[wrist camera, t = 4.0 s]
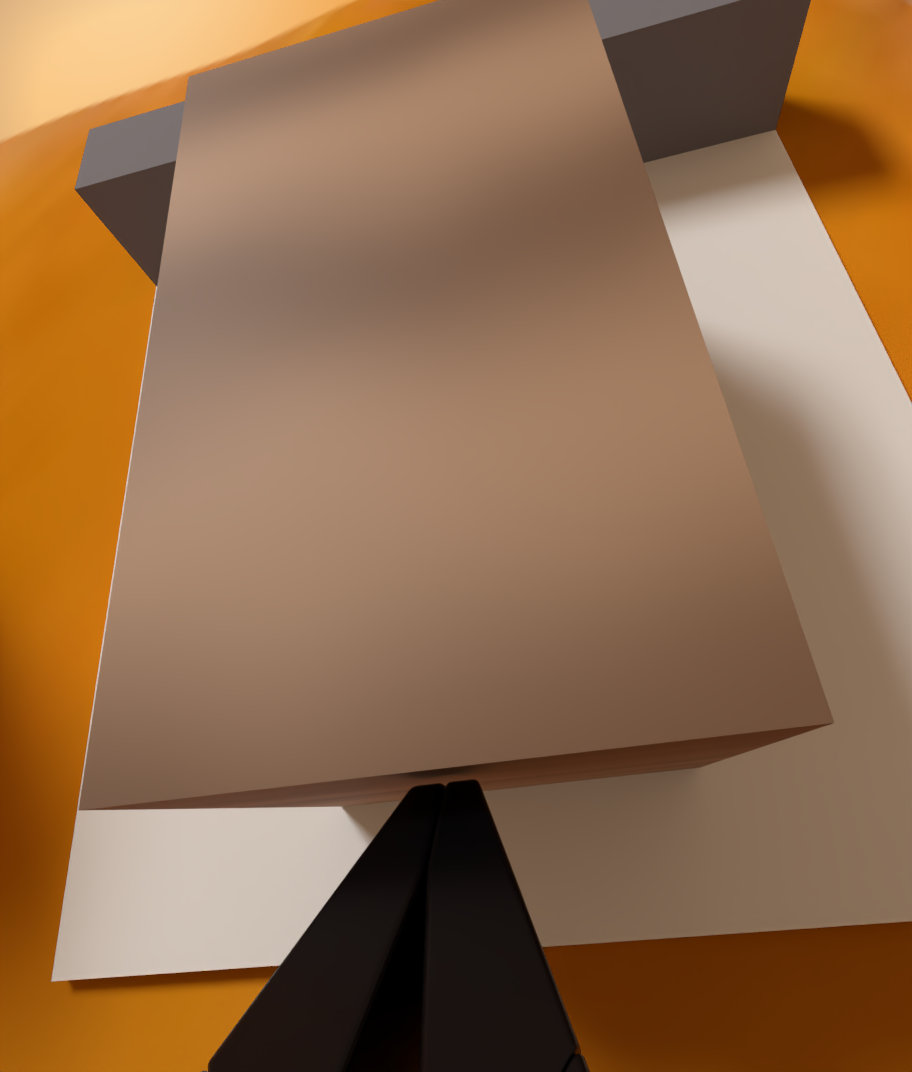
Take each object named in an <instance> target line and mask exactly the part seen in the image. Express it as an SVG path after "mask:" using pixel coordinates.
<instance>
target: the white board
mask: <svg viewBox="0 0 912 1072" xmlns="http://www.w3.org/2000/svg"><path fill="white" fill-rule="evenodd" d="M588 1H589V4H590V7H591V10H592V13H593V16H594V19H595V22H596V25H597V28H598V31H599V34H600V37H601V40H602V43H603V45H604V48H605V51H606V54H607V57H608V60H609V63H610V66H611V69H612V72H613V75H614V78H615V81H616V84H617V87H618V89H619V92H620V95H621V98H622V101H623V104H624V107H625V110H626V113H627V116H628V119H629V122H630V125H631V128H632V131H633V133H634V136H635V139H636V142H637V145H638V148H639V151H640V154H641V157H642V160H643V163H644V166H645V169H646V172H647V175H648V177H649V180H650V183H651V186H652V189H653V192H654V195H655V198H656V201H657V204H658V207H659V210H660V213H661V216H662V218H663V221H664V224H665V227H666V230H667V233H668V236H669V239H670V242H671V245H672V248H673V251H674V254H675V257H676V260H677V262H678V265H679V268H680V271H681V274H682V277H683V280H684V283H685V286H686V289H687V292H688V295H689V298H690V301H691V304H692V306H693V309H694V312H695V315H696V318H697V321H698V324H699V327H700V330H701V333H702V336H703V339H704V342H705V345H706V348H707V350H708V353H709V356H710V359H711V362H712V365H713V368H714V371H715V374H716V377H717V380H718V383H719V386H720V389H721V391H722V394H723V397H724V400H725V403H726V406H727V409H728V412H729V415H730V418H731V421H732V424H733V427H734V430H735V433H736V435H737V438H738V441H739V444H740V447H741V450H742V453H743V456H744V459H745V462H746V465H747V468H748V471H749V474H750V477H751V479H752V482H753V485H754V488H755V491H756V494H757V497H758V500H759V503H760V506H761V509H762V512H763V515H764V518H765V521H766V523H767V526H768V529H769V532H770V535H771V538H772V541H773V544H774V547H775V550H776V553H777V556H778V559H779V562H780V565H781V567H782V570H783V573H784V576H785V579H786V582H787V585H788V588H789V591H790V594H791V597H792V600H793V603H794V606H795V608H796V611H797V614H798V617H799V620H800V623H801V626H802V629H803V632H804V635H805V638H806V641H807V644H808V647H809V650H810V652H811V655H812V658H813V661H814V664H815V667H816V670H817V673H818V676H819V679H820V682H821V685H822V688H823V691H824V694H825V696H826V699H827V702H828V705H829V708H830V711H831V714H832V717H833V720H834V723H833V724H830V725H827V726H824V727H821V728H818V729H815V730H812V731H809V732H806V733H803V734H800V735H797V736H794V737H791V738H788V739H785V740H782V741H779V742H776V743H773V744H770V745H766V746H763V747H760V748H757V749H754V750H751V751H748V752H745V753H742V754H739V755H736V756H733V757H730V758H727V759H724V760H721V761H718V762H715V763H712V764H709V765H706V766H703V767H700V768H691V769H682V770H673V771H663V772H654V773H645V774H636V775H627V776H618V777H608V778H599V779H590V780H581V781H572V782H563V783H553V784H544V785H535V786H526V787H517V788H508V789H498V790H489V791H483V793H484V796H485V798H486V801H487V804H488V806H489V809H490V811H491V814H492V817H493V819H494V822H495V825H496V827H497V830H498V833H499V835H500V838H501V840H502V843H503V846H504V848H505V851H506V854H507V856H508V859H509V861H510V864H511V867H512V869H513V872H514V875H515V877H516V880H517V883H518V885H519V888H520V890H521V893H522V896H523V898H524V901H525V904H526V906H527V909H528V911H529V914H530V917H531V919H532V922H533V925H534V927H535V930H536V933H537V935H538V938H539V940H540V943H541V946H542V947H551V946H565V945H579V944H594V943H608V942H622V941H637V940H651V939H665V938H679V937H694V936H708V935H722V934H736V933H751V932H765V931H779V930H793V929H808V928H822V927H836V926H851V925H865V924H879V923H893V922H908V921H912V403H911V401H910V399H909V397H908V395H907V393H906V391H905V389H904V387H903V385H902V383H901V381H900V379H899V377H898V375H897V373H896V371H895V369H894V367H893V365H892V363H891V361H890V359H889V357H888V355H887V353H886V351H885V349H884V346H883V344H882V342H881V340H880V338H879V336H878V334H877V332H876V330H875V328H874V326H873V324H872V322H871V320H870V318H869V316H868V314H867V312H866V310H865V308H864V306H863V304H862V302H861V300H860V298H859V296H858V294H857V292H856V290H855V288H854V286H853V284H852V282H851V280H850V278H849V276H848V274H847V272H846V270H845V268H844V266H843V264H842V262H841V260H840V258H839V256H838V254H837V252H836V250H835V248H834V246H833V244H832V242H831V240H830V238H829V236H828V234H827V232H826V230H825V228H824V226H823V224H822V222H821V220H820V218H819V216H818V214H817V212H816V210H815V208H814V206H813V204H812V202H811V200H810V198H809V196H808V194H807V192H806V190H805V188H804V186H803V184H802V182H801V180H800V178H799V176H798V174H797V172H796V170H795V167H794V165H793V163H792V161H791V159H790V157H789V155H788V153H787V151H786V149H785V147H784V145H783V143H782V141H781V139H780V137H779V135H778V133H777V131H776V127H777V123H778V119H779V116H780V112H781V108H782V105H783V101H784V97H785V93H786V90H787V86H788V82H789V79H790V75H791V71H792V68H793V64H794V60H795V57H796V53H797V49H798V45H799V42H800V38H801V34H802V31H803V27H804V23H805V20H806V16H807V12H808V9H809V5H810V1H811V0H588ZM184 105H185V101H183V102H180V103H177V104H173V105H170V106H167V107H163V108H160V109H157V110H153V111H150V112H147V113H143V114H140V115H137V116H133V117H130V118H127V119H123V120H120V121H117V122H113V123H110V124H107V125H103V126H100V127H96V128H93V129H90V130H89V134H88V138H87V142H86V146H85V150H84V154H83V158H82V162H81V166H80V170H79V174H78V178H77V182H76V186H75V190H76V191H77V193H78V194H79V195H80V196H81V197H82V198H83V200H84V201H85V202H86V203H87V204H88V206H89V207H90V208H91V209H92V210H93V212H94V213H95V214H96V215H97V216H98V217H99V219H100V220H101V221H102V222H103V223H104V225H105V226H106V227H107V228H108V229H109V230H110V232H111V233H112V234H113V235H114V236H115V238H116V239H117V240H118V241H119V242H120V243H121V245H122V246H123V247H124V248H125V249H126V251H127V252H128V253H129V254H130V255H131V256H132V258H133V259H134V260H135V261H136V262H137V264H138V265H139V266H140V267H141V268H142V269H143V271H144V272H145V273H146V274H147V275H148V277H149V278H150V279H151V280H152V281H153V282H154V284H155V285H156V292H157V285H158V278H159V272H160V265H161V258H162V252H163V245H164V238H165V232H166V225H167V218H168V212H169V205H170V198H171V192H172V185H173V178H174V172H175V165H176V159H177V152H178V145H179V139H180V132H181V125H182V119H183V112H184ZM156 292H155V298H156ZM154 305H155V299H154ZM154 305H153V311H154ZM152 318H153V312H152ZM152 318H151V325H152ZM151 325H150V331H151ZM149 338H150V332H149ZM149 338H148V345H149ZM148 345H147V351H148ZM147 351H146V358H147ZM146 358H145V365H146ZM145 365H144V371H145ZM144 371H143V378H144ZM143 378H142V384H141V391H142V385H143ZM141 391H140V398H141ZM140 398H139V404H138V411H139V405H140ZM138 411H137V418H138ZM137 418H136V424H135V431H136V425H137ZM135 431H134V437H133V444H134V438H135ZM133 444H132V451H133ZM132 451H131V457H130V464H131V458H132ZM130 464H129V470H128V477H127V484H128V478H129V471H130ZM127 484H126V490H125V497H124V504H125V498H126V491H127ZM124 504H123V510H122V517H121V523H120V530H119V537H118V543H117V550H116V556H115V563H114V570H113V576H112V583H111V589H110V596H109V603H108V609H107V616H106V623H105V629H104V636H103V642H102V649H101V656H100V662H99V669H98V675H97V682H96V689H95V695H94V702H93V708H92V715H91V722H90V728H89V735H88V742H87V748H86V755H85V761H84V768H83V775H82V781H81V788H80V794H79V801H78V808H77V814H76V821H75V828H74V834H73V841H72V847H71V854H70V861H69V867H68V874H67V880H66V887H65V894H64V900H63V907H62V913H61V920H60V927H59V933H58V940H57V947H56V953H55V960H54V966H53V973H52V980H51V981H66V980H80V979H94V978H108V977H123V976H137V975H151V974H166V973H180V972H194V971H208V970H223V969H237V968H251V967H265V966H280V964H281V963H282V962H283V960H284V959H285V958H286V956H287V955H288V954H289V952H290V951H291V950H292V948H293V947H294V945H295V944H296V943H297V941H298V940H299V939H300V937H301V936H302V935H303V933H304V932H305V931H306V929H307V928H308V927H309V925H310V924H311V922H312V921H313V920H314V918H315V917H316V916H317V914H318V913H319V912H320V910H321V909H322V908H323V906H324V905H325V903H326V902H327V901H328V899H329V898H330V897H331V895H332V894H333V893H334V891H335V890H336V889H337V887H338V886H339V884H340V883H341V882H342V880H343V879H344V878H345V876H346V875H347V874H348V872H349V871H350V870H351V868H352V867H353V865H354V864H355V863H356V861H357V860H358V859H359V857H360V856H361V855H362V853H363V852H364V851H365V849H366V848H367V846H368V845H369V844H370V842H371V841H372V840H373V838H374V837H375V836H376V834H377V833H378V832H379V830H380V829H381V827H382V826H383V825H384V823H385V822H386V821H387V819H388V818H389V817H390V815H391V814H392V813H393V811H394V810H395V809H396V807H397V806H398V804H399V803H400V802H401V800H398V801H388V802H379V803H370V804H361V805H352V806H343V807H282V808H213V809H145V810H79V804H80V797H81V790H82V784H83V777H84V770H85V764H86V757H87V750H88V744H89V737H90V730H91V724H92V717H93V711H94V704H95V697H96V691H97V684H98V677H99V671H100V664H101V657H102V651H103V644H104V637H105V631H106V624H107V617H108V611H109V604H110V597H111V591H112V584H113V577H114V571H115V564H116V558H117V551H118V544H119V538H120V531H121V524H122V518H123V511H124Z"/></svg>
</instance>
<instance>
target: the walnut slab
mask: <svg viewBox="0 0 912 1072" xmlns="http://www.w3.org/2000/svg"><path fill="white" fill-rule="evenodd" d="M833 723H834V720H833V717H832V714H831V711H830V708H829V705H828V702H827V699H826V696H825V694H824V691H823V688H822V685H821V682H820V679H819V676H818V673H817V670H816V667H815V664H814V661H813V658H812V655H811V652H810V650H809V647H808V644H807V641H806V638H805V635H804V632H803V629H802V626H801V623H800V620H799V617H798V614H797V611H796V608H795V606H794V603H793V600H792V597H791V594H790V591H789V588H788V585H787V582H786V579H785V576H784V573H783V570H782V567H781V565H780V562H779V559H778V556H777V553H776V550H775V547H774V544H773V541H772V538H771V535H770V532H769V529H768V526H767V523H766V521H765V518H764V515H763V512H762V509H761V506H760V503H759V500H758V497H757V494H756V491H755V488H754V485H753V482H752V479H751V477H750V474H749V471H748V468H747V465H746V462H745V459H744V456H743V453H742V450H741V447H740V444H739V441H738V438H737V435H736V433H735V430H734V427H733V424H732V421H731V418H730V415H729V412H728V409H727V406H726V403H725V400H724V397H723V394H722V391H721V389H720V386H719V383H718V380H717V377H716V374H715V371H714V368H713V365H712V362H711V359H710V356H709V353H708V350H707V348H706V345H705V342H704V339H703V336H702V333H701V330H700V327H699V324H698V321H697V318H696V315H695V312H694V309H693V306H692V304H691V301H690V298H689V295H688V292H687V289H686V286H685V283H684V280H683V277H682V274H681V271H680V268H679V265H678V262H677V260H676V257H675V254H674V251H673V248H672V245H671V242H670V239H669V236H668V233H667V230H666V227H665V224H664V221H663V218H662V216H661V213H660V210H659V207H658V204H657V201H656V198H655V195H654V192H653V189H652V186H651V183H650V180H649V177H648V175H647V172H646V169H645V166H644V163H643V160H642V157H641V154H640V151H639V148H638V145H637V142H636V139H635V136H634V133H633V131H632V128H631V125H630V122H629V119H628V116H627V113H626V110H625V107H624V104H623V101H622V98H621V95H620V92H619V89H618V87H617V84H616V81H615V78H614V75H613V72H612V69H611V66H610V63H609V60H608V57H607V54H606V51H605V48H604V45H603V43H602V40H601V37H600V34H599V31H598V28H597V25H596V22H595V19H594V16H593V13H592V10H591V7H590V4H589V1H588V0H439V1H435V2H432V3H429V4H426V5H422V6H419V7H416V8H413V9H409V10H406V11H403V12H399V13H396V14H393V15H390V16H386V17H383V18H380V19H376V20H373V21H370V22H367V23H363V24H360V25H357V26H354V27H350V28H347V29H344V30H340V31H337V32H334V33H331V34H327V35H324V36H321V37H317V38H314V39H311V40H308V41H304V42H301V43H298V44H295V45H291V46H288V47H285V48H281V49H278V50H275V51H272V52H268V53H265V54H262V55H258V56H255V57H252V58H249V59H245V60H242V61H239V62H236V63H232V64H229V65H226V66H222V67H219V68H216V69H213V70H209V71H206V72H203V73H199V74H196V75H193V76H190V77H189V79H188V85H187V92H186V99H185V105H184V112H183V119H182V125H181V132H180V139H179V145H178V152H177V159H176V165H175V172H174V178H173V185H172V192H171V198H170V205H169V212H168V218H167V225H166V232H165V238H164V245H163V252H162V258H161V265H160V272H159V278H158V285H157V292H156V298H155V305H154V311H153V318H152V325H151V331H150V338H149V345H148V351H147V358H146V365H145V371H144V378H143V385H142V391H141V398H140V405H139V411H138V418H137V425H136V431H135V438H134V444H133V451H132V458H131V464H130V471H129V478H128V484H127V491H126V498H125V504H124V511H123V518H122V524H121V531H120V538H119V544H118V551H117V558H116V564H115V571H114V577H113V584H112V591H111V597H110V604H109V611H108V617H107V624H106V631H105V637H104V644H103V651H102V657H101V664H100V671H99V677H98V684H97V691H96V697H95V704H94V711H93V717H92V724H91V730H90V737H89V744H88V750H87V757H86V764H85V770H84V777H83V784H82V790H81V797H80V804H79V810H145V809H213V808H282V807H343V806H352V805H361V804H370V803H379V802H388V801H398V800H402V799H403V798H404V796H405V795H406V794H407V792H408V791H409V790H410V789H411V788H412V787H414V786H417V785H426V784H435V783H441V784H443V785H445V786H446V785H447V784H448V783H449V782H452V781H461V780H470V779H476V780H477V781H478V782H479V783H480V785H481V788H482V790H483V791H489V790H498V789H508V788H517V787H526V786H535V785H544V784H553V783H563V782H572V781H581V780H590V779H599V778H608V777H618V776H627V775H636V774H645V773H654V772H663V771H673V770H682V769H691V768H700V767H703V766H706V765H709V764H712V763H715V762H718V761H721V760H724V759H727V758H730V757H733V756H736V755H739V754H742V753H745V752H748V751H751V750H754V749H757V748H760V747H763V746H766V745H770V744H773V743H776V742H779V741H782V740H785V739H788V738H791V737H794V736H797V735H800V734H803V733H806V732H809V731H812V730H815V729H818V728H821V727H824V726H827V725H830V724H833Z"/></svg>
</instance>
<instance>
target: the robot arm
mask: <svg viewBox="0 0 912 1072" xmlns="http://www.w3.org/2000/svg"><path fill="white" fill-rule="evenodd" d="M202 1072H207V1071H202ZM208 1072H590V1071H589V1068H588V1066H587V1063H586V1060H585V1058H584V1056H583V1055H581V1050H580V1046H579V1043H578V1040H577V1038H576V1035H575V1033H574V1030H573V1027H572V1025H571V1022H570V1019H569V1017H568V1014H567V1012H566V1009H565V1006H564V1004H563V1001H562V998H561V996H560V993H559V990H558V988H557V985H556V983H555V980H554V977H553V975H552V972H551V969H550V967H549V964H548V961H547V959H546V956H545V954H544V951H543V948H542V946H541V943H540V940H539V938H538V935H537V933H536V930H535V927H534V925H533V922H532V919H531V917H530V914H529V911H528V909H527V906H526V904H525V901H524V898H523V896H522V893H521V890H520V888H519V885H518V883H517V880H516V877H515V875H514V872H513V869H512V867H511V864H510V861H509V859H508V856H507V854H506V851H505V848H504V846H503V843H502V840H501V838H500V835H499V833H498V830H497V827H496V825H495V822H494V819H493V817H492V814H491V811H490V809H489V806H488V804H487V801H486V798H485V796H484V793H483V790H482V788H481V785H480V783H479V782H478V781H477V780H476V779H470V780H461V781H452V782H449V783H448V784H447V785H446V786H445V785H443V784H441V783H435V784H426V785H417V786H414V787H412V788H411V789H410V790H409V791H408V792H407V794H406V795H405V796H404V798H403V799H402V800H401V802H400V803H399V804H398V806H397V807H396V809H395V810H394V811H393V813H392V814H391V815H390V817H389V818H388V819H387V821H386V822H385V823H384V825H383V826H382V827H381V829H380V830H379V832H378V833H377V834H376V836H375V837H374V838H373V840H372V841H371V842H370V844H369V845H368V846H367V848H366V849H365V851H364V852H363V853H362V855H361V856H360V857H359V859H358V860H357V861H356V863H355V864H354V865H353V867H352V868H351V870H350V871H349V872H348V874H347V875H346V876H345V878H344V879H343V880H342V882H341V883H340V884H339V886H338V887H337V889H336V890H335V891H334V893H333V894H332V895H331V897H330V898H329V899H328V901H327V902H326V903H325V905H324V906H323V908H322V909H321V910H320V912H319V913H318V914H317V916H316V917H315V918H314V920H313V921H312V922H311V924H310V925H309V927H308V928H307V929H306V931H305V932H304V933H303V935H302V936H301V937H300V939H299V940H298V941H297V943H296V944H295V945H294V947H293V948H292V950H291V951H290V952H289V954H288V955H287V956H286V958H285V959H284V960H283V962H282V963H281V964H280V966H279V967H278V969H277V970H276V971H275V973H274V974H273V975H272V977H271V978H270V979H269V981H268V982H267V983H266V985H265V986H264V988H263V989H262V990H261V992H260V993H259V994H258V996H257V997H256V998H255V1000H254V1001H253V1002H252V1004H251V1005H250V1007H249V1008H248V1009H247V1011H246V1012H245V1013H244V1015H243V1016H242V1017H241V1019H240V1020H239V1021H238V1023H237V1024H236V1026H235V1027H234V1028H233V1030H232V1031H231V1032H230V1034H229V1035H228V1036H227V1038H226V1039H225V1040H224V1042H223V1043H222V1045H221V1046H220V1047H219V1049H218V1050H217V1051H216V1053H215V1054H214V1055H213V1057H212V1058H211V1059H210V1061H209V1063H208Z"/></svg>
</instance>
